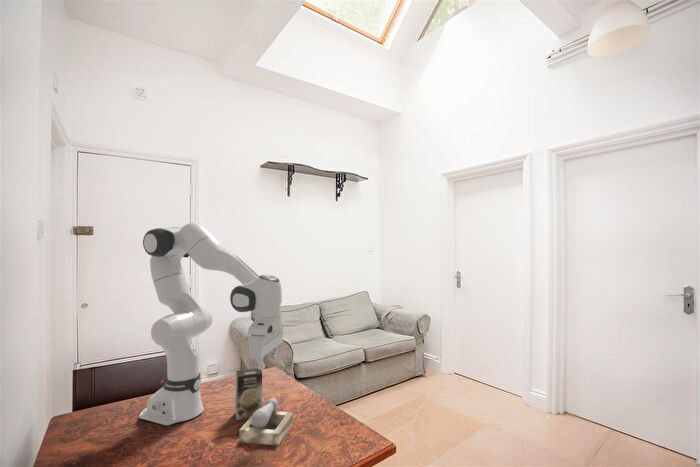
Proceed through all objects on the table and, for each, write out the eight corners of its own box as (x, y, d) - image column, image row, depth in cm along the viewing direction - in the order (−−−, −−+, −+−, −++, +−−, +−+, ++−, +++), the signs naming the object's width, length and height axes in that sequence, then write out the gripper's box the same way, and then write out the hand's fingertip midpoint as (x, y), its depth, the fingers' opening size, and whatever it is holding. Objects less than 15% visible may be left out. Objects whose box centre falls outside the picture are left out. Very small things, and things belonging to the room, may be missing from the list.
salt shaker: (258, 410, 113) (274, 392, 126) (245, 419, 114) (263, 400, 126) (268, 425, 112) (283, 406, 125) (255, 434, 113) (272, 414, 126)
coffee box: (236, 421, 125) (236, 376, 125) (235, 412, 131) (235, 370, 131) (262, 416, 128) (262, 373, 129) (259, 408, 134) (260, 367, 134)
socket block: (239, 442, 112) (239, 429, 112) (257, 420, 125) (257, 409, 126) (278, 446, 110) (278, 434, 110) (293, 424, 123) (293, 412, 123)
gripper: (271, 315, 129) (270, 352, 129) (245, 330, 109) (244, 374, 109) (287, 316, 128) (286, 353, 128) (264, 331, 107) (263, 376, 107)
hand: (267, 363), depth 118 cm, fingers open, 8 cm apart
